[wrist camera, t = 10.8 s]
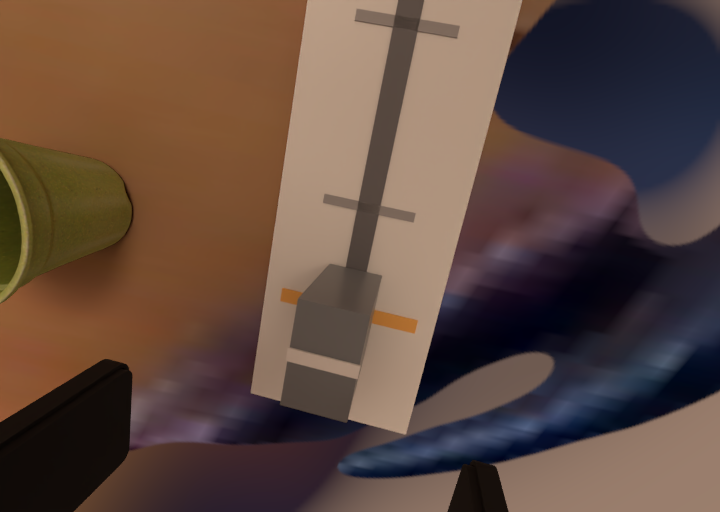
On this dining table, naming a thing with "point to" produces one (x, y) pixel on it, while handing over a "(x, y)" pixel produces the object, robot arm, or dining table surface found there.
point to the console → (382, 175)
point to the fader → (330, 341)
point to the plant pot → (54, 211)
